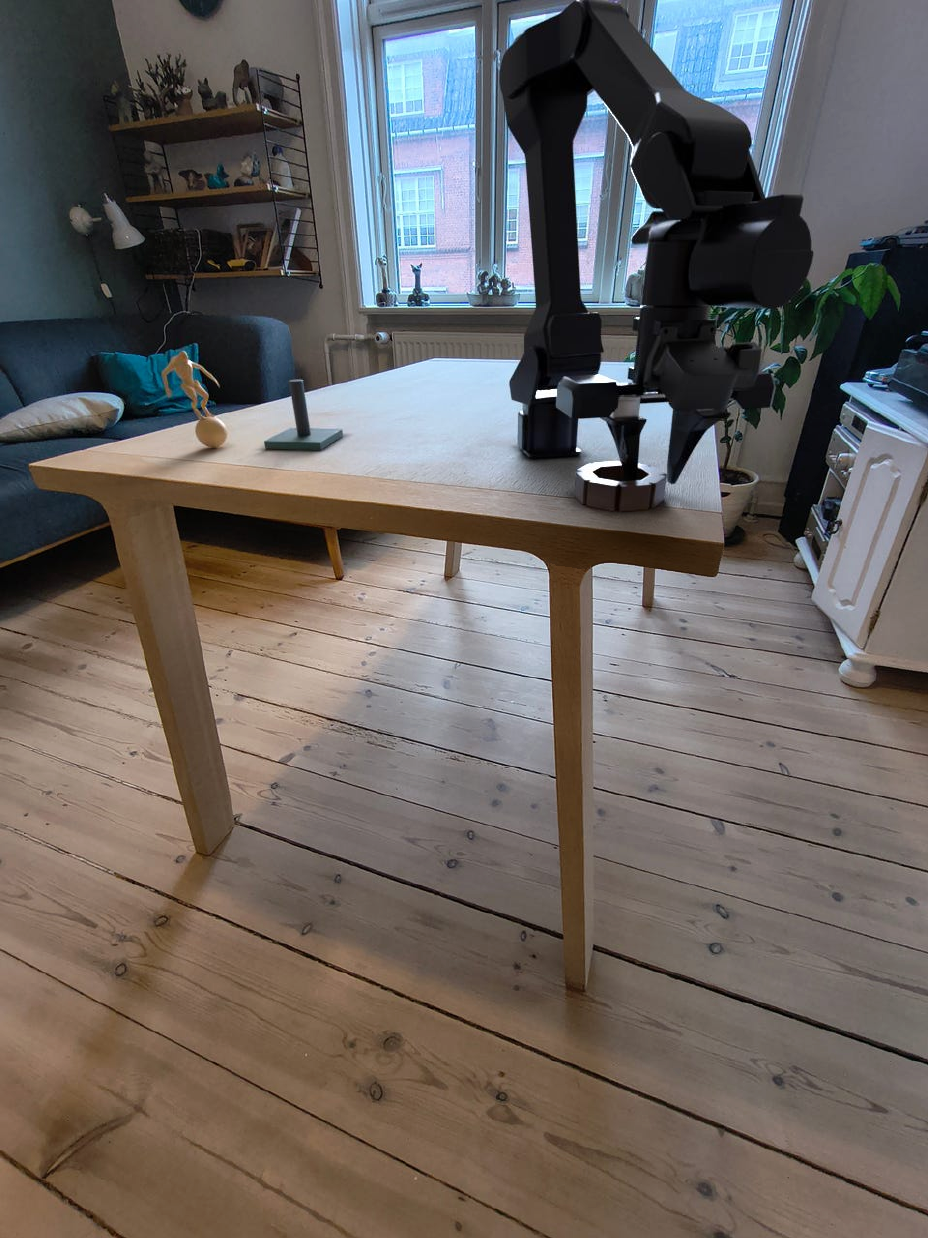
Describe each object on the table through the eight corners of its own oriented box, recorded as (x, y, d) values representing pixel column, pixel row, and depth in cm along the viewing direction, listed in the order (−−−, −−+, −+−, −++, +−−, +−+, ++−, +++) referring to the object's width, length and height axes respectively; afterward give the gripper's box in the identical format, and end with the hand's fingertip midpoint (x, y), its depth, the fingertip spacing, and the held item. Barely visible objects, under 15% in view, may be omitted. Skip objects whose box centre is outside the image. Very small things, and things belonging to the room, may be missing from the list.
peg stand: (343, 435, 85) (335, 375, 81) (321, 450, 78) (311, 385, 74) (291, 434, 86) (281, 375, 82) (265, 448, 79) (252, 385, 75)
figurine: (200, 455, 77) (175, 355, 71) (169, 451, 79) (142, 353, 73) (248, 441, 83) (228, 347, 77) (217, 437, 86) (196, 346, 80)
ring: (641, 481, 62) (643, 459, 61) (676, 507, 55) (680, 482, 54) (565, 487, 62) (567, 464, 60) (591, 514, 55) (593, 488, 53)
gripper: (602, 314, 43) (585, 520, 50) (840, 305, 45) (789, 504, 52) (558, 307, 52) (550, 481, 60) (756, 300, 54) (723, 469, 62)
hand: (650, 484), depth 58 cm, fingers open, 4 cm apart
